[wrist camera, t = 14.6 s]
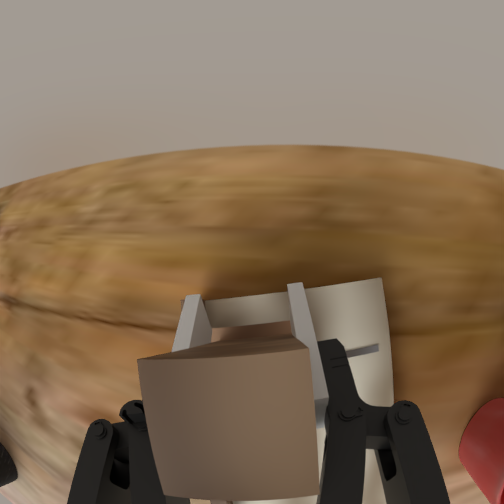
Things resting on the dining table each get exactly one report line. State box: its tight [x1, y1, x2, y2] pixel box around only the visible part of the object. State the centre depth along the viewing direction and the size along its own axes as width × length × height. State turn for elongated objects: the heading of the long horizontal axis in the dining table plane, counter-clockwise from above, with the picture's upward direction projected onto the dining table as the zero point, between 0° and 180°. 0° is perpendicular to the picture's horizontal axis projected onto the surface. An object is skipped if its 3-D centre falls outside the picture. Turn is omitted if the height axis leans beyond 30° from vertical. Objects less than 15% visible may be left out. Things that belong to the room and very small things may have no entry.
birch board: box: [181, 277, 394, 504], centre depth 16 cm, size 14×30×4 cm, turn 6°
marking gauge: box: [137, 320, 320, 501], centre depth 12 cm, size 7×6×12 cm
